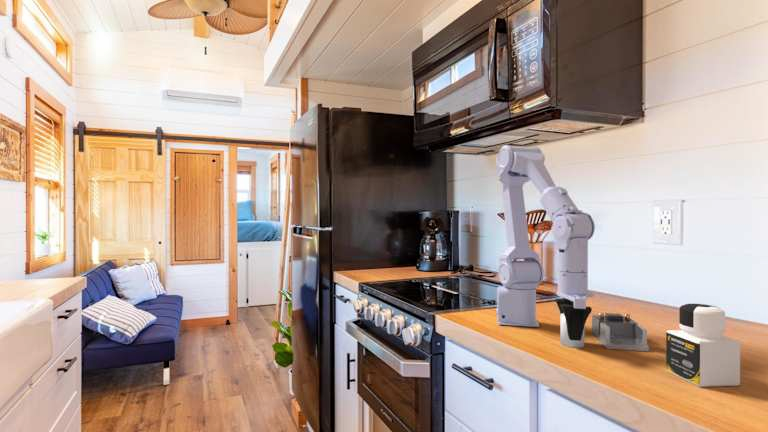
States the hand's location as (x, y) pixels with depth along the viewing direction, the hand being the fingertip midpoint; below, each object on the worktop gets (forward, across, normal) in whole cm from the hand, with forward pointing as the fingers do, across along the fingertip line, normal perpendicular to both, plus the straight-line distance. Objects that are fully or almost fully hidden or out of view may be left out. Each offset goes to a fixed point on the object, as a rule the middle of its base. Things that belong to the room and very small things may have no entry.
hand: (572, 336), depth 89 cm
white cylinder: (+2, 0, 0) cm, 2 cm away
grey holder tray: (+2, +5, -10) cm, 11 cm away
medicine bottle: (+2, -15, -17) cm, 23 cm away
